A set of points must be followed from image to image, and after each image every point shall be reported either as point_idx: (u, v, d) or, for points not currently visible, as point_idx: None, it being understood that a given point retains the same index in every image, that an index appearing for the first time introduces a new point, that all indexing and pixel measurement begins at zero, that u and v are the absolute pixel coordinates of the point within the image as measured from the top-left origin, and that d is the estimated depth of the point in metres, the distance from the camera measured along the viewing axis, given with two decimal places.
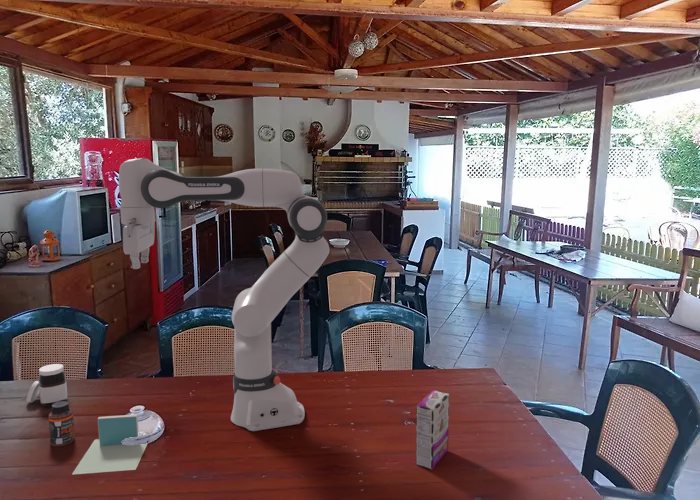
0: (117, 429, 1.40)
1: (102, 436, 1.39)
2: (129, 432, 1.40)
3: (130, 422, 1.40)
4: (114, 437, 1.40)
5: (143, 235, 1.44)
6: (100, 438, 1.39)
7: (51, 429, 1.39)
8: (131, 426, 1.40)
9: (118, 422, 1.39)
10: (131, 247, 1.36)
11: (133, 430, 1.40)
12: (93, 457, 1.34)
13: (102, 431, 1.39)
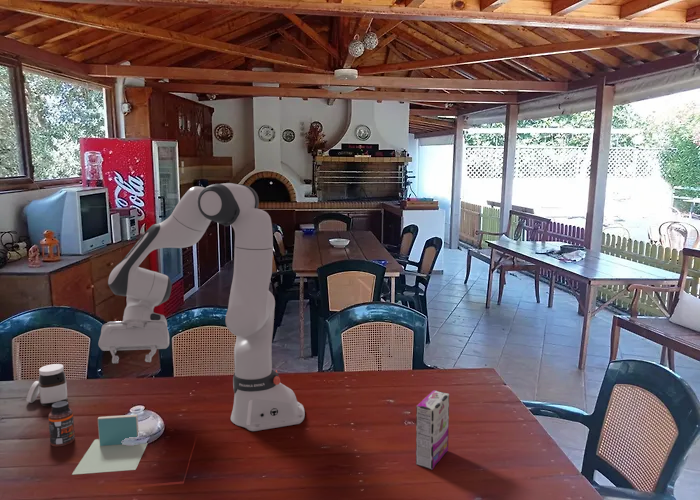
0: (117, 429, 1.40)
1: (102, 436, 1.39)
2: (129, 432, 1.40)
3: (130, 422, 1.40)
4: (114, 437, 1.40)
5: (129, 333, 1.59)
6: (100, 438, 1.39)
7: (51, 429, 1.39)
8: (131, 426, 1.40)
9: (118, 422, 1.39)
10: None
11: (133, 430, 1.40)
12: (93, 457, 1.34)
13: (102, 431, 1.39)
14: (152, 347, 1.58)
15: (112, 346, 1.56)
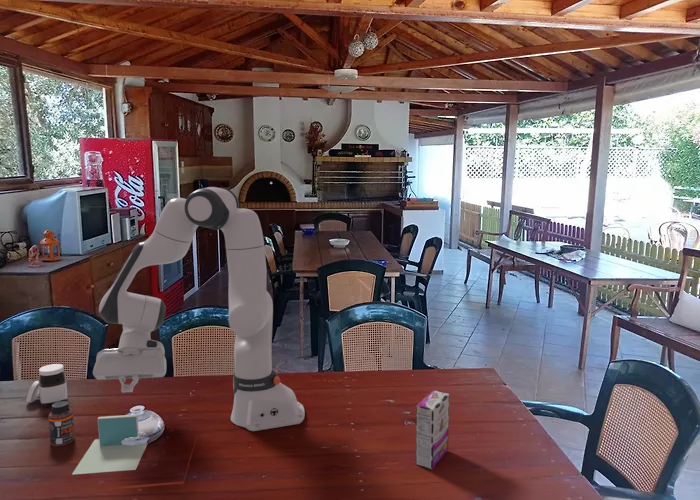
0: (117, 429, 1.40)
1: (102, 436, 1.39)
2: (129, 432, 1.40)
3: (130, 422, 1.40)
4: (114, 437, 1.40)
5: (125, 361, 1.53)
6: (100, 438, 1.39)
7: (51, 429, 1.39)
8: (131, 426, 1.40)
9: (118, 422, 1.39)
10: None
11: (133, 430, 1.40)
12: (93, 457, 1.34)
13: (102, 431, 1.39)
14: (134, 376, 1.51)
15: (107, 375, 1.50)
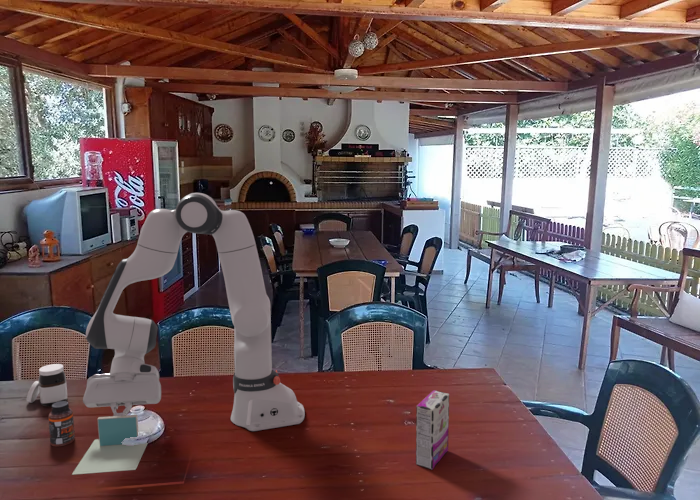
0: (117, 429, 1.40)
1: (102, 436, 1.39)
2: (129, 432, 1.40)
3: (130, 422, 1.40)
4: (114, 437, 1.40)
5: (117, 387, 1.45)
6: (100, 438, 1.39)
7: (51, 429, 1.39)
8: (131, 426, 1.40)
9: (118, 422, 1.39)
10: None
11: (133, 430, 1.40)
12: (93, 457, 1.34)
13: (102, 431, 1.39)
14: (127, 404, 1.43)
15: (98, 403, 1.42)
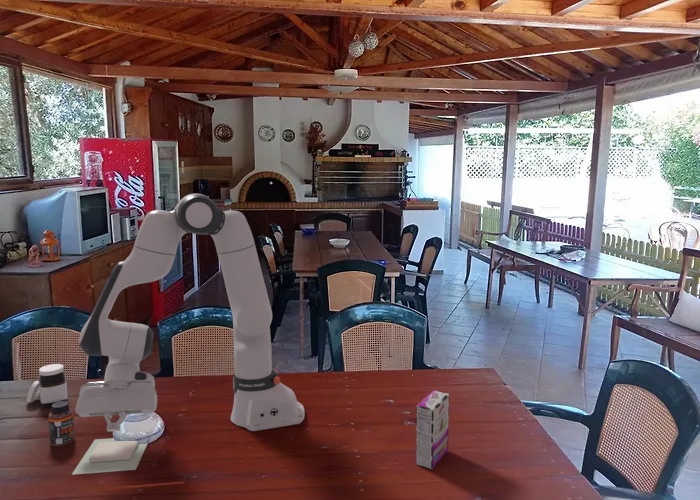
0: None
1: None
2: None
3: None
4: None
5: (111, 396, 1.39)
6: None
7: (51, 429, 1.39)
8: None
9: None
10: None
11: None
12: None
13: None
14: (121, 413, 1.37)
15: (91, 412, 1.36)
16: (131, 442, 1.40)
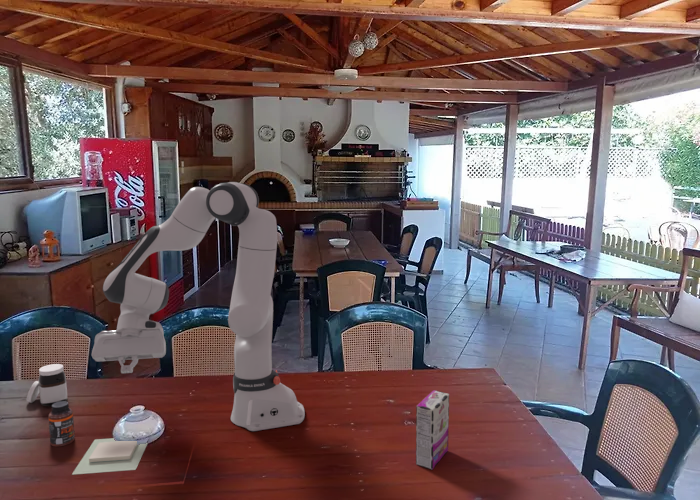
0: None
1: None
2: None
3: None
4: None
5: (124, 342, 1.52)
6: None
7: (51, 429, 1.39)
8: None
9: None
10: None
11: None
12: None
13: None
14: (133, 357, 1.50)
15: (106, 356, 1.49)
16: (131, 442, 1.40)
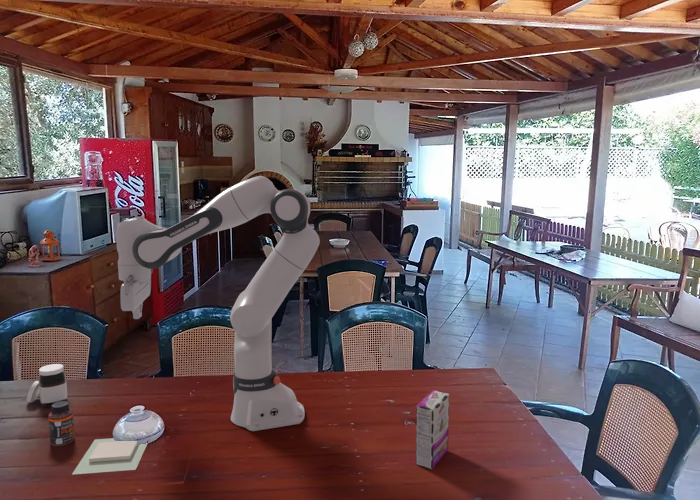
0: None
1: None
2: None
3: None
4: None
5: (140, 290, 1.52)
6: None
7: (51, 429, 1.39)
8: None
9: None
10: (128, 304, 1.44)
11: None
12: None
13: None
14: (141, 303, 1.56)
15: (136, 307, 1.48)
16: (131, 442, 1.40)
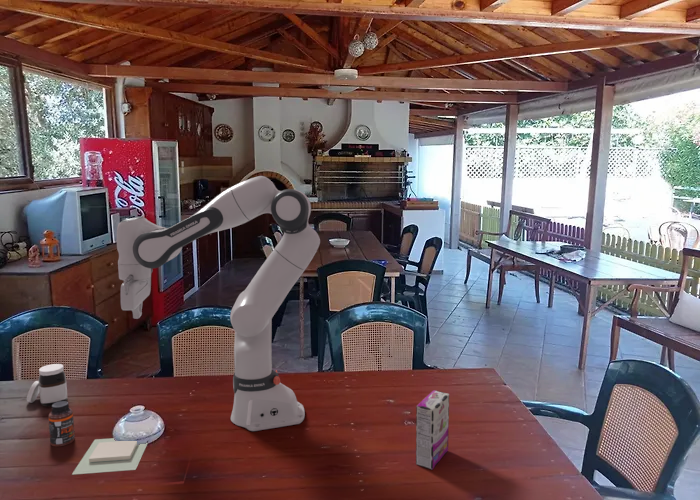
0: None
1: None
2: None
3: None
4: None
5: (140, 289, 1.52)
6: None
7: (51, 429, 1.39)
8: None
9: None
10: (128, 304, 1.44)
11: None
12: None
13: None
14: (141, 302, 1.56)
15: (136, 307, 1.48)
16: (131, 442, 1.40)
